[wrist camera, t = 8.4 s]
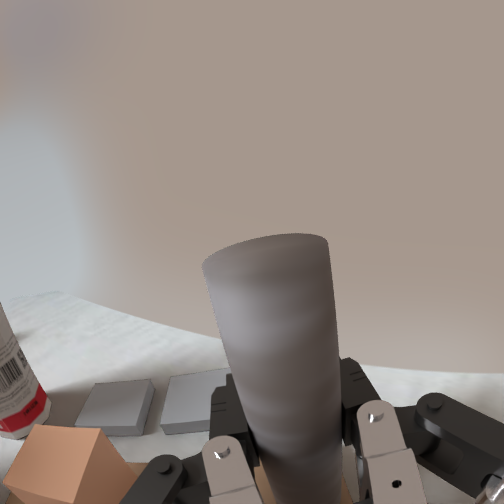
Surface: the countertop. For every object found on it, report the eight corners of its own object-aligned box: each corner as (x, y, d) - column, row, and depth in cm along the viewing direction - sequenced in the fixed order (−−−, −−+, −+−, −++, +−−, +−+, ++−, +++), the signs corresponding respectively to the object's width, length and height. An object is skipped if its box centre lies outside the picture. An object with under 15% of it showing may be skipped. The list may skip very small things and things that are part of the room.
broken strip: (80, 434, 19) (74, 425, 19) (100, 392, 25) (95, 383, 24) (244, 425, 19) (240, 414, 19) (240, 376, 25) (237, 366, 25)
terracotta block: (57, 529, 8) (2, 482, 7) (76, 474, 13) (35, 424, 12) (128, 545, 9) (73, 503, 7) (140, 480, 13) (100, 428, 12)
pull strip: (8, 531, 7) (-133, 356, 3) (39, 461, 15) (-57, 301, 11) (366, 553, 8) (426, 292, 4) (329, 448, 15) (303, 214, 12)
